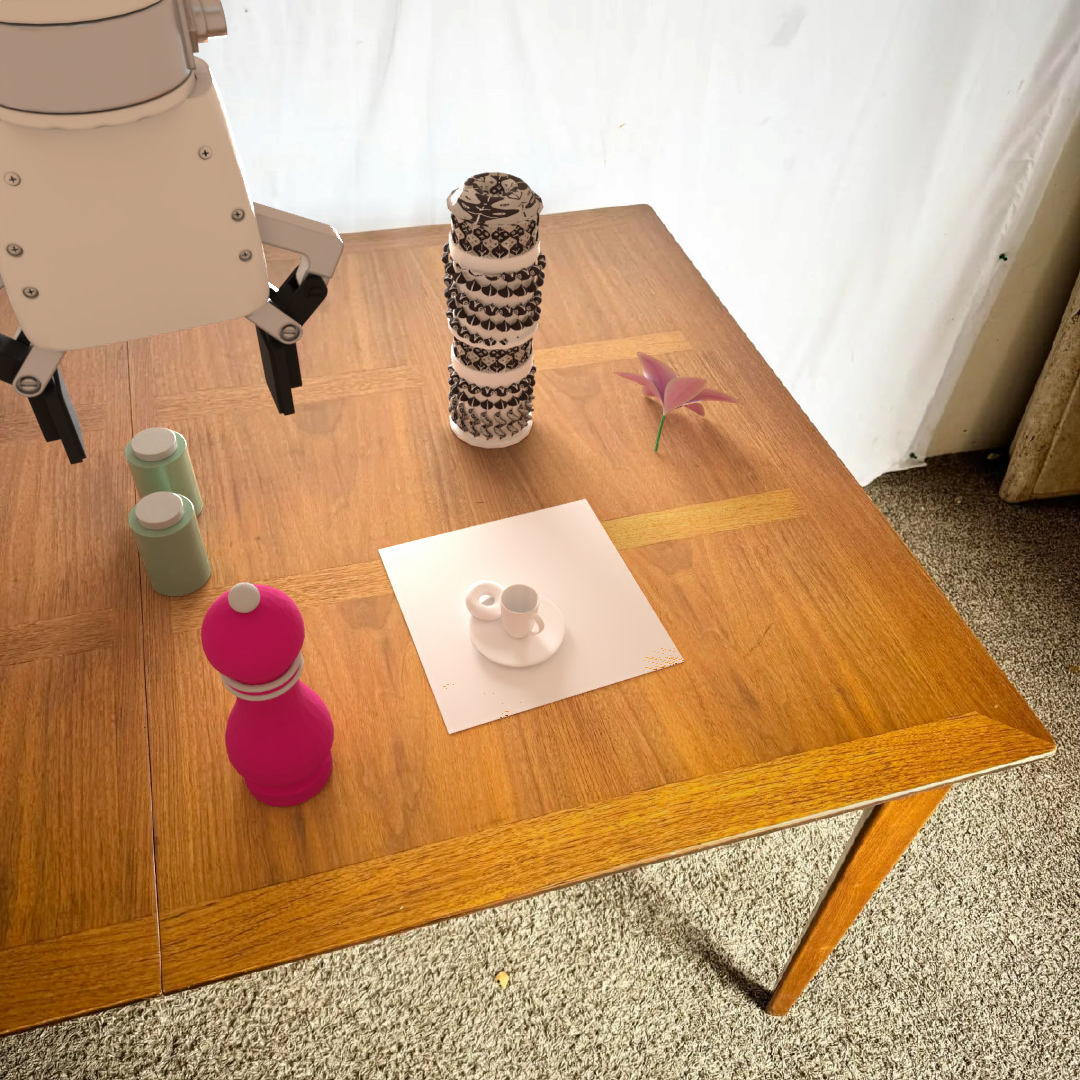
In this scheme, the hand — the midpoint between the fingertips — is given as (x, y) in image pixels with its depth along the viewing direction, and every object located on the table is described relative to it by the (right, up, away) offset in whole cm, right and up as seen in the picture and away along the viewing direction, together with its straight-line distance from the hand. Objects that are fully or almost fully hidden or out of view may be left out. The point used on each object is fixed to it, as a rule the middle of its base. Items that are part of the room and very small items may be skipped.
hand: (181, 421), depth 46 cm
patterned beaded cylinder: (+12, +6, +51) cm, 53 cm away
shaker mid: (-13, -9, +35) cm, 38 cm away
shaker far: (-16, -3, +40) cm, 43 cm away
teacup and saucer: (+16, -11, +35) cm, 40 cm away
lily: (+30, +6, +52) cm, 61 cm away
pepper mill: (-1, -22, +23) cm, 32 cm away
